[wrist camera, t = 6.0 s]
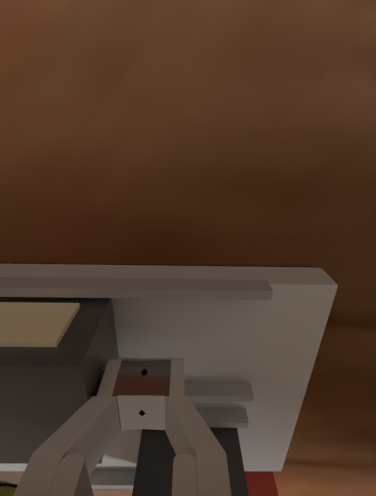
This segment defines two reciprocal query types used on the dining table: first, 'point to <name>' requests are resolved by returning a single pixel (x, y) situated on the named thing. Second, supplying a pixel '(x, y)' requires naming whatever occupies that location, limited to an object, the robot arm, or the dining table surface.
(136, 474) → the block
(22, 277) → the breaker panel
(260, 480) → the red block
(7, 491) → the plant pot
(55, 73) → the dining table surface
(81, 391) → the block
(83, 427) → the robot arm
